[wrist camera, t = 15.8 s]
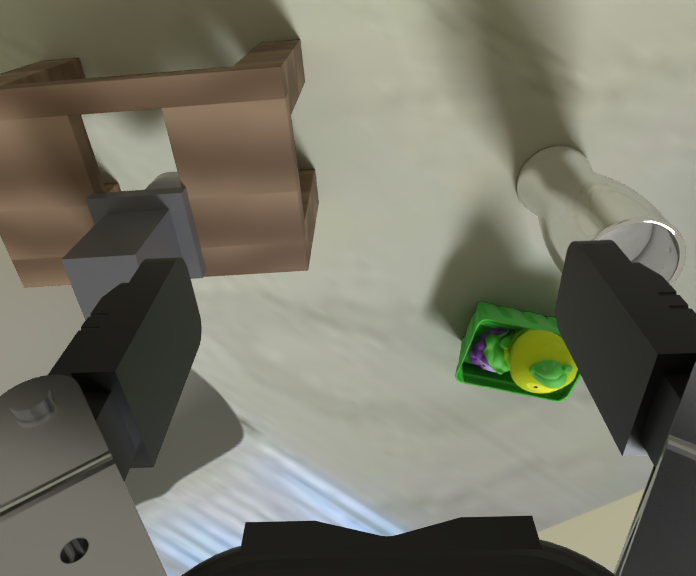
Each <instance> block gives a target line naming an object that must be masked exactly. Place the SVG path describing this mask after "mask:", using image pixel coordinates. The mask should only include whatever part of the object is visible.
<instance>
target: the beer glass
mask: <svg viewBox="0 0 696 576" xmlns="http://www.w3.org/2000/svg"><path fill="white" fill-rule="evenodd" d="M517 194H518V197H519V199H520V201H521V203H522V204H523V205H524V207H525V208H526V209H528V210H529V211H530V212H532V213H533V214H535V215H536V216H537V217H538V220H539V225H540V229H541V232H542V236H543V239H544V242H545V245H546V248H547V250H548V252H549V254H550V256H551V258H552V259H553V261H554V263H555V265H556V266H557V267H558V269H559V270H560V272H561V273H562V272H563V267H564V262H565V257H566V252H567V249H568V246H569V244H570V243H571V242H573V241H589V240H613V241H614V242H615V243H616V244H617V245H618V247H619V248H620V249H621V250H622V251H623V253H624V254H625V255H626V256H627V257H628V259H629V260H630V261H631V262H632V263H635V262H639V263H641V264H643V265H645V266H646V267H648V268H650V269H651V270H653V271H655V272H657V273H658V274H660V275H662V276H663V277H664V278H665V280H666V281H667V282H668V283H669V284H670V285H671V286H672V285H673V284H674V283H675V281H676V280H677V278H678V277H679V275H680V273H681V271H682V269H683V266H684V263H685V259H686V246H685V242H684V240H683V237H682V236H681V234H680V233H679V231H678V230H677V229H676V228H675V227H674V226H672V225H671V224H670V223H669V222H668V220H667V219H666V218H665V217H664V216H663V215H662V214H661V213H660V212H659V210H658V209H657V208H656V207H655V206H654V205H652V204H651V203H650V202H649V201H648V200H647V199H646V198H645V197H643V196H642V195H641V194H639V193H638V192H637V191H635V190H634V189H632V188H631V187H629V186H627V185H625V184H623V183H621V182H619V181H617V180H614V179H612V178H609V177H607V176H604V175H601V174H599V173H596V172H594V171H593V170H592V168H591V166H590V164H589V162H588V160H587V159H586V158H585V156H584V155H583V154H582V153H580V152H579V151H578V150H576V149H573V148H571V147H566V146H554V147H549V148H546V149H544V150H541V151H540V152H538V153H536V154H535V155H533V156H532V157H531V158H530V159H529V160H528V161H527V162H526V163H525V165H524V166H523V168H522V169H521V171H520V173H519V176H518V180H517Z"/></svg>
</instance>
